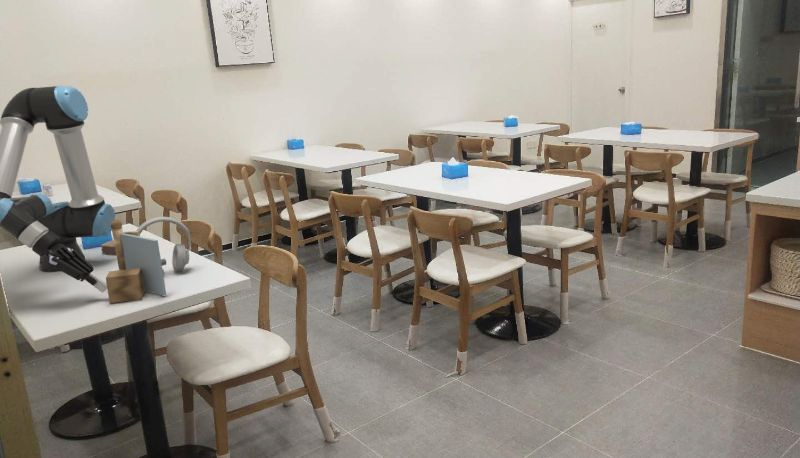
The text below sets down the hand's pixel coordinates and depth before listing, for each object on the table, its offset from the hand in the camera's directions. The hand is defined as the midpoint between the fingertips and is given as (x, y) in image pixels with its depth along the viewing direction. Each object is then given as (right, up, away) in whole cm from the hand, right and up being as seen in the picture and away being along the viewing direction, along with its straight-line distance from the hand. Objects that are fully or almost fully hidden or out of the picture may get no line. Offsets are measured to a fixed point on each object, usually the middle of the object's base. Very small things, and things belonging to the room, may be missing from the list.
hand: (106, 289), depth 187 cm
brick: (-18, +9, +52) cm, 56 cm away
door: (+11, -1, +6) cm, 13 cm away
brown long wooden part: (+3, 0, +12) cm, 13 cm away
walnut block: (+6, -3, +1) cm, 7 cm away
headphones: (+10, +3, +23) cm, 25 cm away
